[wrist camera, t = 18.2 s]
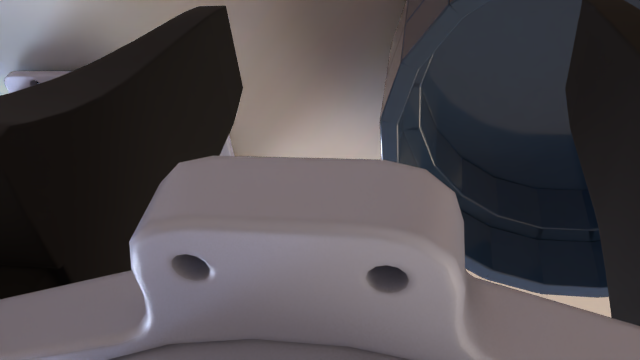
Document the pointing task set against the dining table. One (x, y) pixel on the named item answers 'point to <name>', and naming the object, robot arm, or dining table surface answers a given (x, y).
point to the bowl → (498, 135)
